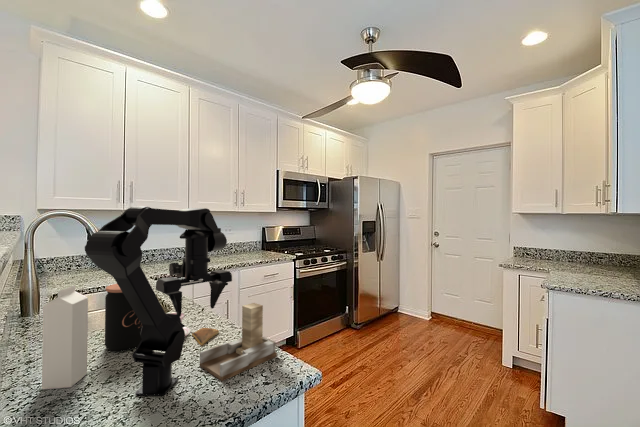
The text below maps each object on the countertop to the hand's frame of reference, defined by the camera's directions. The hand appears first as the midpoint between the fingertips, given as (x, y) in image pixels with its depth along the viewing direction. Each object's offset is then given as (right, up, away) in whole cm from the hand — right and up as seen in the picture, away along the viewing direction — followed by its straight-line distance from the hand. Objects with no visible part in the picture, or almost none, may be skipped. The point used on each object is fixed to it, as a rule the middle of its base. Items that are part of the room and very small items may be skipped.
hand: (196, 312), depth 81 cm
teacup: (-16, -14, +18) cm, 27 cm away
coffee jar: (-25, -13, +9) cm, 30 cm away
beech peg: (+15, -12, +3) cm, 19 cm away
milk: (-26, -13, -11) cm, 31 cm away
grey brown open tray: (+12, -13, 0) cm, 18 cm away
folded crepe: (-3, -14, +16) cm, 21 cm away
